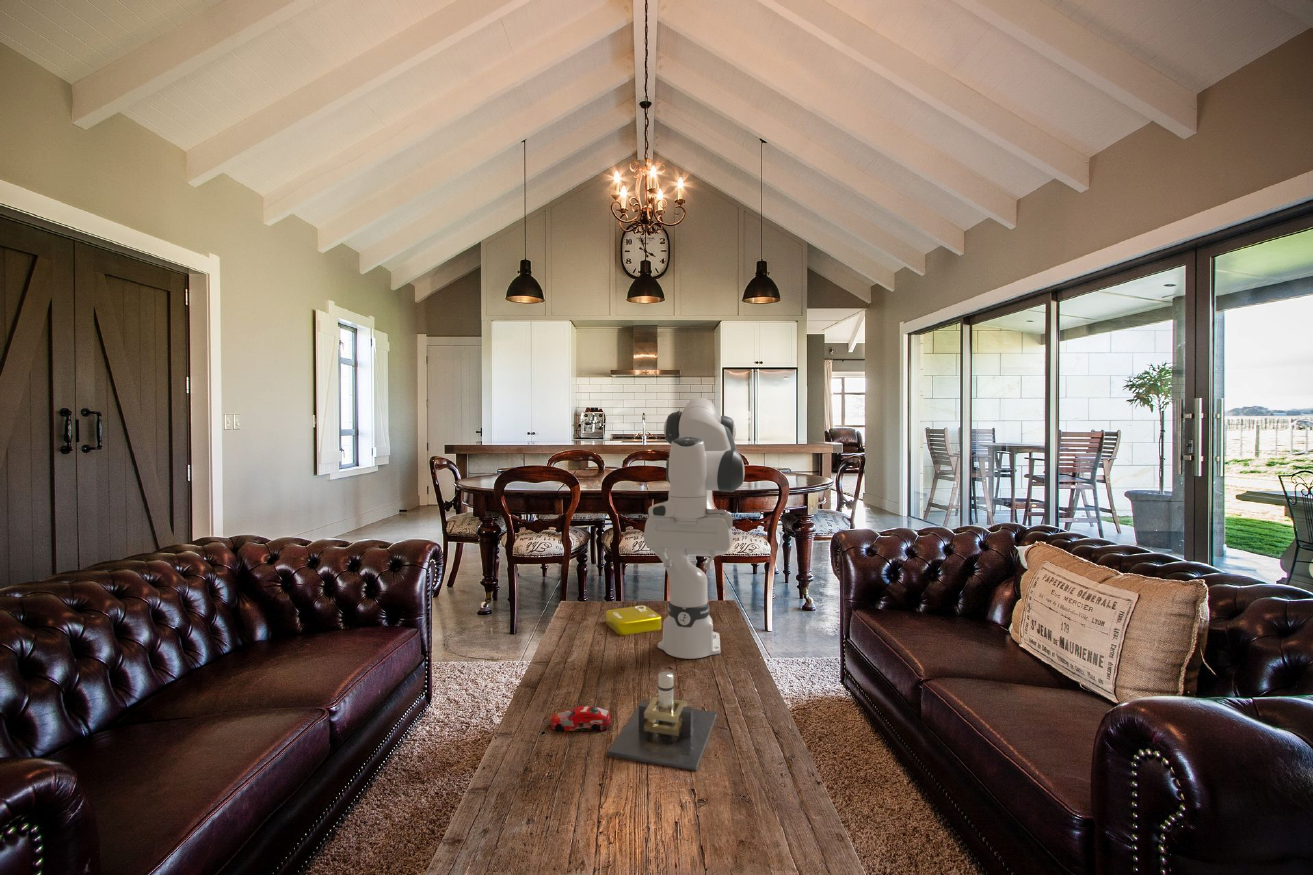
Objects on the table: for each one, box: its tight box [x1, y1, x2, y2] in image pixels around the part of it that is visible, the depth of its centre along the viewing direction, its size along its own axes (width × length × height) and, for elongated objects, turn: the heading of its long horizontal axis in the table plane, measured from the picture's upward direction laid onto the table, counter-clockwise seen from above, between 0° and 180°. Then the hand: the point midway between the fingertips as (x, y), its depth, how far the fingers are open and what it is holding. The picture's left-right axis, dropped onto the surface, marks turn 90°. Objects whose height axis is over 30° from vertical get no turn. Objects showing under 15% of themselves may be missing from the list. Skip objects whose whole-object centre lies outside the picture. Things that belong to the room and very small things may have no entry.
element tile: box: [605, 604, 662, 636], centre depth 195 cm, size 15×15×5 cm
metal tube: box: [657, 671, 675, 726], centre depth 125 cm, size 3×3×12 cm
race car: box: [549, 705, 612, 733], centre depth 129 cm, size 13×5×4 cm, turn 89°
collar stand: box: [607, 696, 718, 772], centre depth 125 cm, size 22×18×6 cm
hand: (687, 567), depth 136 cm, fingers open, 8 cm apart
